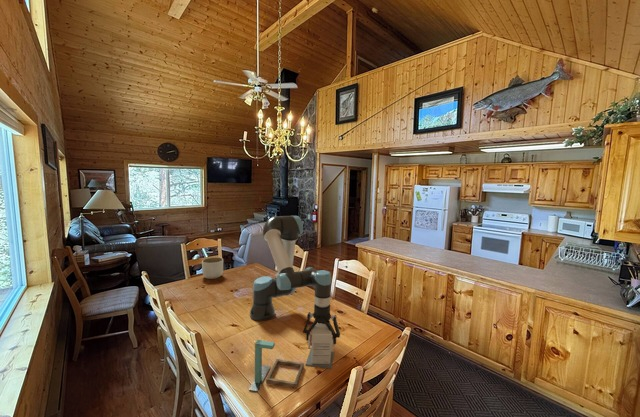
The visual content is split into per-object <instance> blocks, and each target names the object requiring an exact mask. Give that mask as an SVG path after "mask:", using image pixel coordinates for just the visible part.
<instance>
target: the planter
mask: <svg viewBox="0 0 640 417" xmlns="http://www.w3.org/2000/svg"><path fill="white" fill-rule="evenodd" d="M201 269H202V270H201V272H202V276H203V277H204V278H205V279H208V280H216V279H219V278H220V277H221V276H222V275H223V272H224V258H223V257H217V256H214V257H206V258H203V259H202V261H201Z"/></svg>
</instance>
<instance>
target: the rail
mask: <svg viewBox="0 0 640 417" xmlns="http://www.w3.org/2000/svg"><path fill="white" fill-rule="evenodd" d="M270 370H271V366H269V365H263V364H262V379H261V381H260V383H255V379H253V382H252V384H251V385H250V387H249V389H248V391H249V392H254V393H258V392H259V390H260V388H261V386H262V385H263V383H264V382H265V381H264V380H266V378H267V376H268V374H269V372H270Z"/></svg>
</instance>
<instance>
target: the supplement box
mask: <svg viewBox="0 0 640 417" xmlns="http://www.w3.org/2000/svg"><path fill="white" fill-rule="evenodd" d="M331 344H332V332H331V331H329V329H328V327H327V326H326V324H318V323H317V324H316V325H315V326H314V328H313V329H312V330H311V348H312V364H330V360H331Z"/></svg>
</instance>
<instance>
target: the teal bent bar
mask: <svg viewBox="0 0 640 417" xmlns="http://www.w3.org/2000/svg"><path fill="white" fill-rule="evenodd" d="M274 347H275V342H273V341H267V340H261V339H257V340H256V341H255V343H254V380H255V383H260V381H261V379H262V366H263V364H262V363H263V349H266V350H267V349H268V350H273V349H274Z"/></svg>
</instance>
